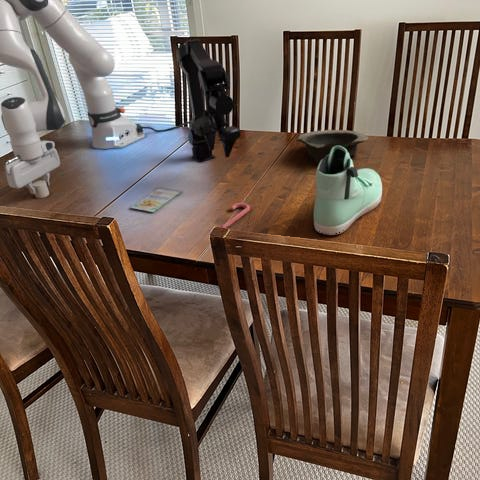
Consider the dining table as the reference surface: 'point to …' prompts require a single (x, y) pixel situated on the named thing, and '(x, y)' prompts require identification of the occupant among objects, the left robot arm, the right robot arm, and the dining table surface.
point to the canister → (41, 189)
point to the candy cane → (239, 215)
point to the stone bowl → (331, 142)
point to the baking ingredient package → (155, 200)
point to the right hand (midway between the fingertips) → (219, 153)
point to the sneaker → (343, 192)
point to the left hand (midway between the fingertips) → (40, 189)
